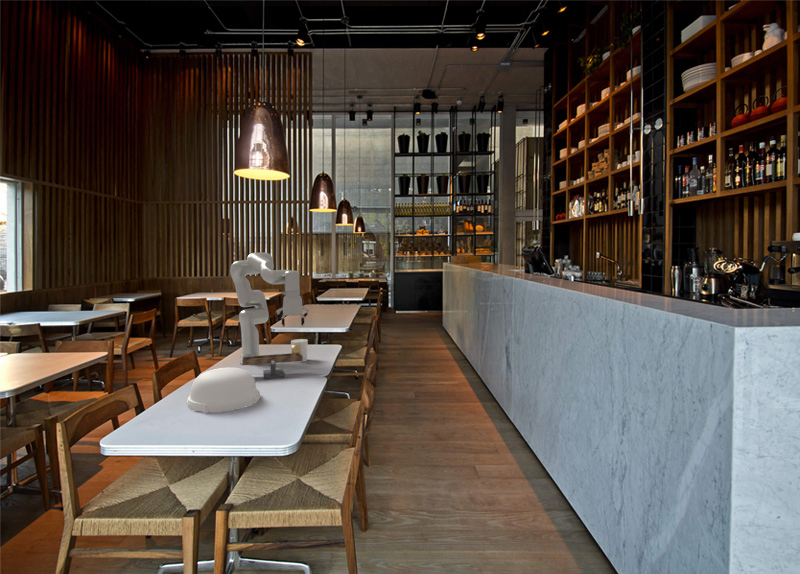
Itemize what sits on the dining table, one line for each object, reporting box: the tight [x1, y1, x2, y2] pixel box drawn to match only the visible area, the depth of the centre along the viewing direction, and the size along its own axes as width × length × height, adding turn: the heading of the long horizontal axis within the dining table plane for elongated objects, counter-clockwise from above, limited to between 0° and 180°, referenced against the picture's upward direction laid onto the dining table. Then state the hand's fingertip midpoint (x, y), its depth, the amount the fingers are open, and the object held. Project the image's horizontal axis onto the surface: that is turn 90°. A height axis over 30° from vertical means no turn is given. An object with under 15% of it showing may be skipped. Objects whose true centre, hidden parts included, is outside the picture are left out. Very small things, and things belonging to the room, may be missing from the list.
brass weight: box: [291, 345, 301, 356], centre depth 257 cm, size 5×5×6 cm
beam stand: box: [262, 359, 285, 380], centre depth 253 cm, size 10×15×9 cm, turn 16°
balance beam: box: [241, 352, 303, 366], centre depth 253 cm, size 30×8×4 cm, turn 106°
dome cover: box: [186, 366, 261, 414], centre depth 209 cm, size 32×30×14 cm
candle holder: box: [290, 338, 309, 363], centre depth 286 cm, size 10×10×12 cm
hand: (293, 325), depth 259 cm, fingers open, 9 cm apart
